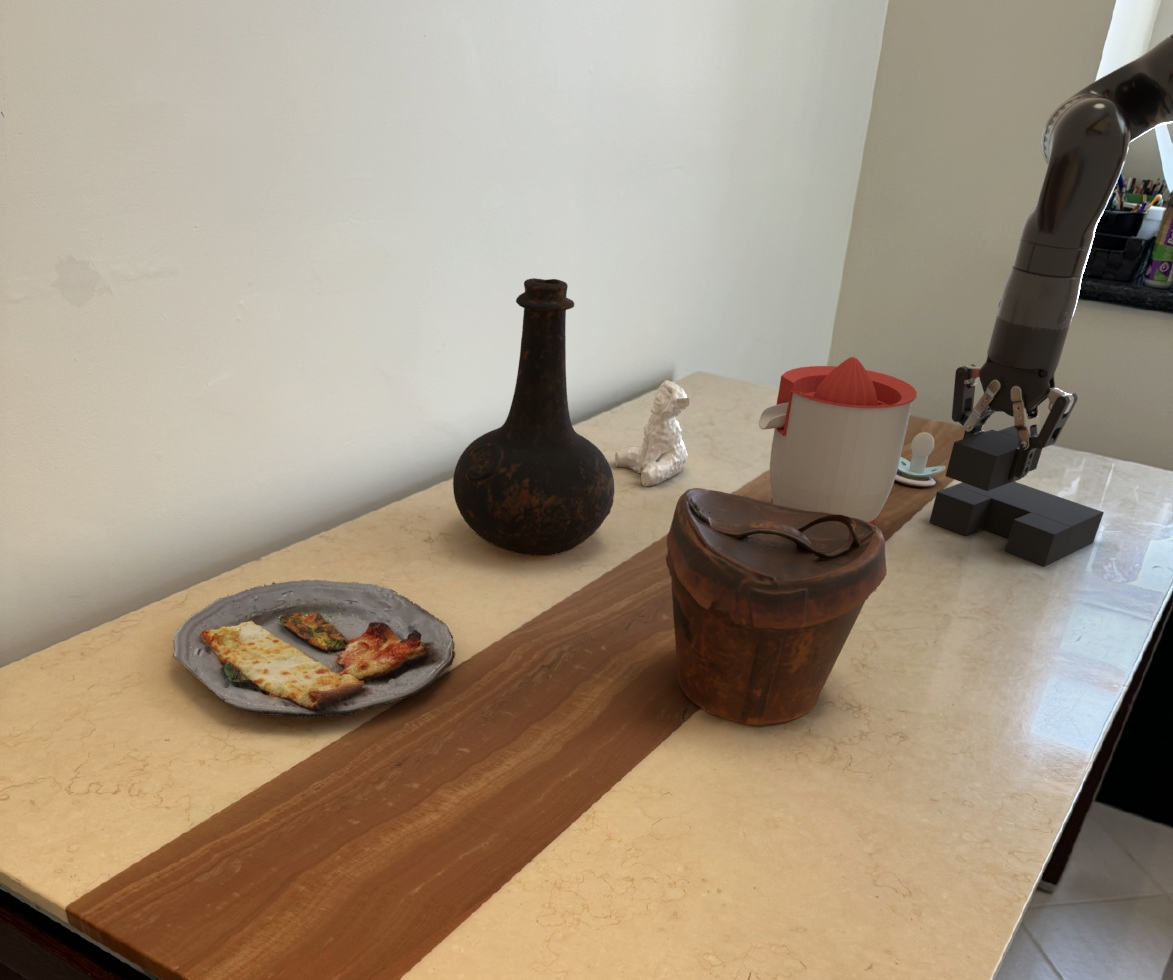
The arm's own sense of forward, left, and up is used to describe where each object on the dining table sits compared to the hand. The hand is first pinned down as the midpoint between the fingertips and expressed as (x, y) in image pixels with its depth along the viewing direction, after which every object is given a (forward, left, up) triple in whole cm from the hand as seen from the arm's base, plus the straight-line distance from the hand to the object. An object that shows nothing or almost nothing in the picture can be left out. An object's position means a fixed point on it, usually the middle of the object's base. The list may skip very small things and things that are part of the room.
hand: (990, 470), depth 127 cm
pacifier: (+18, -14, -10) cm, 25 cm away
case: (-6, +47, -10) cm, 48 cm away
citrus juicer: (+16, +10, -10) cm, 21 cm away
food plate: (+22, +76, -10) cm, 79 cm away
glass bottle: (+32, +42, -10) cm, 53 cm away
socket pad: (0, -9, -10) cm, 14 cm away
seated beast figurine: (+40, +14, -10) cm, 43 cm away
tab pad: (0, -1, 0) cm, 1 cm away
